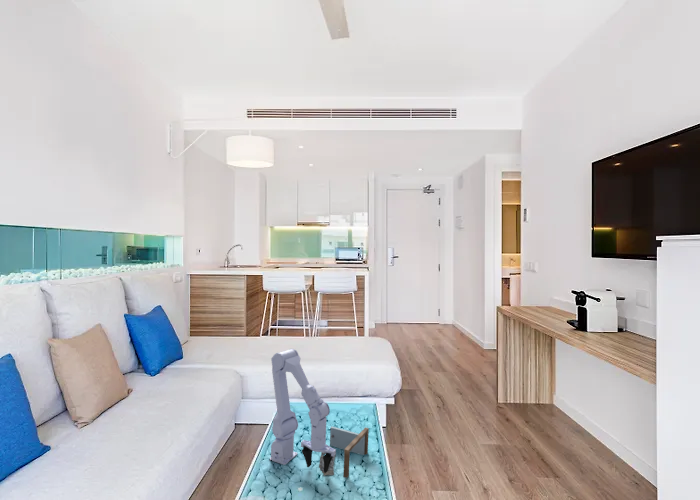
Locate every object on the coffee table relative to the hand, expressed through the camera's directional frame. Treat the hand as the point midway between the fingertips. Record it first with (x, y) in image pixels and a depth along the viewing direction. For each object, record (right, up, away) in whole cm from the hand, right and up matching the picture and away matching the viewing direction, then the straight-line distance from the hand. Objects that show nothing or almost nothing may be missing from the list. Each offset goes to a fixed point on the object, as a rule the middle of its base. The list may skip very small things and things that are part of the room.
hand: (317, 468), depth 158 cm
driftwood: (+4, -2, +8) cm, 9 cm away
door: (+11, -1, +16) cm, 20 cm away
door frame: (+15, -2, +7) cm, 17 cm away
